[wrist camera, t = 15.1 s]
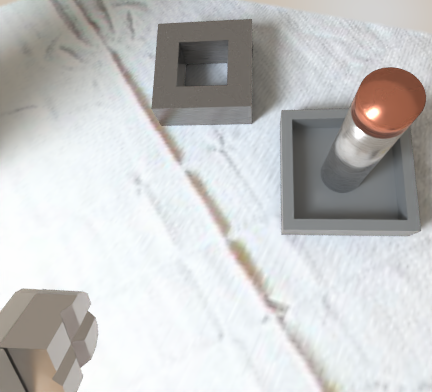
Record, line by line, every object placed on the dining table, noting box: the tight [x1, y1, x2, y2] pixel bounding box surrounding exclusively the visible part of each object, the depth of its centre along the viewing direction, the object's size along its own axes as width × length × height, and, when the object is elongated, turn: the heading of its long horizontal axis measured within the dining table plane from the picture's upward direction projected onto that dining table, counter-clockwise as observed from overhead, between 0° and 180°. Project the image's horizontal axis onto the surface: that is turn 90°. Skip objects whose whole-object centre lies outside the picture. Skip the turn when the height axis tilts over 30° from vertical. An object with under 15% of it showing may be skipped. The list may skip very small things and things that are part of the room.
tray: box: [280, 109, 421, 236], centre depth 37 cm, size 12×12×3 cm
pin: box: [321, 67, 426, 193], centre depth 31 cm, size 4×4×15 cm
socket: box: [152, 19, 253, 126], centre depth 41 cm, size 10×10×4 cm
